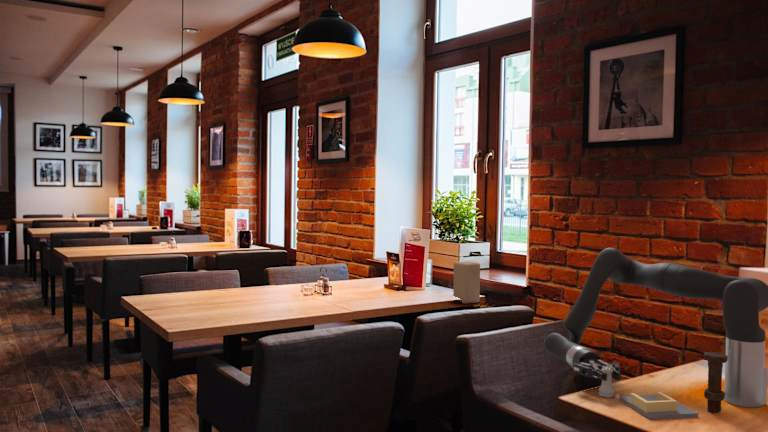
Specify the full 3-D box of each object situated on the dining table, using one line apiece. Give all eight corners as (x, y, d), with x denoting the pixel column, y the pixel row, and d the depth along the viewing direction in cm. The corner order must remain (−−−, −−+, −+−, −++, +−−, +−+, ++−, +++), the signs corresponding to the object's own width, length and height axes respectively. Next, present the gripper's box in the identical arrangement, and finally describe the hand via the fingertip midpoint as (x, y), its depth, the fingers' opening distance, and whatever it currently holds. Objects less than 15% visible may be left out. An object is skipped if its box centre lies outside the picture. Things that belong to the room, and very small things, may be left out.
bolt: (730, 414, 164) (732, 355, 164) (716, 416, 163) (717, 357, 162) (711, 407, 170) (713, 350, 169) (697, 409, 168) (698, 352, 167)
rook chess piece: (594, 394, 180) (595, 365, 180) (607, 392, 182) (608, 364, 181) (605, 398, 176) (606, 369, 176) (618, 397, 178) (619, 368, 177)
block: (480, 302, 326) (481, 263, 325) (464, 304, 321) (465, 264, 320) (468, 299, 335) (468, 261, 334) (452, 301, 330) (453, 262, 329)
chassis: (663, 398, 177) (663, 385, 177) (698, 417, 162) (698, 403, 162) (619, 400, 175) (619, 387, 175) (649, 419, 160) (650, 405, 160)
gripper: (561, 348, 192) (588, 364, 174) (606, 347, 194) (637, 362, 177) (560, 373, 192) (587, 391, 175) (605, 372, 194) (636, 389, 177)
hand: (612, 376), depth 176 cm, fingers closed on rook chess piece, 3 cm apart
